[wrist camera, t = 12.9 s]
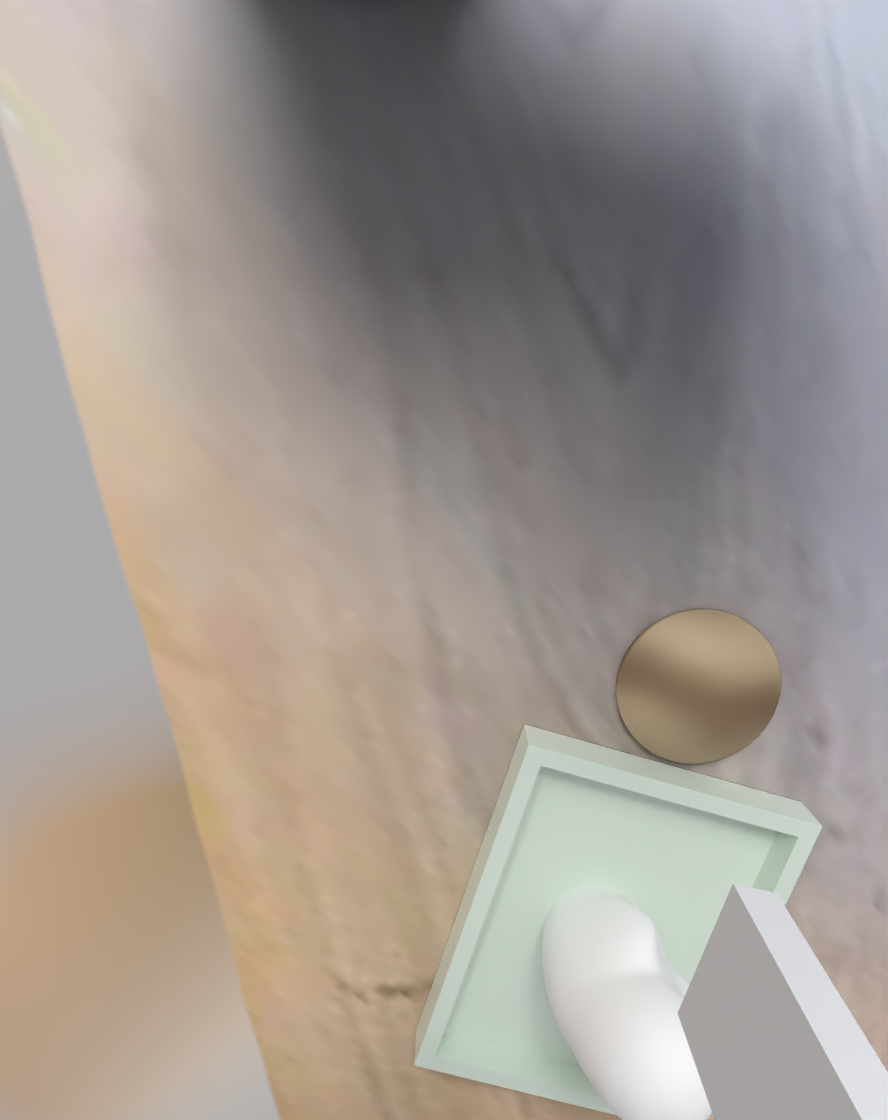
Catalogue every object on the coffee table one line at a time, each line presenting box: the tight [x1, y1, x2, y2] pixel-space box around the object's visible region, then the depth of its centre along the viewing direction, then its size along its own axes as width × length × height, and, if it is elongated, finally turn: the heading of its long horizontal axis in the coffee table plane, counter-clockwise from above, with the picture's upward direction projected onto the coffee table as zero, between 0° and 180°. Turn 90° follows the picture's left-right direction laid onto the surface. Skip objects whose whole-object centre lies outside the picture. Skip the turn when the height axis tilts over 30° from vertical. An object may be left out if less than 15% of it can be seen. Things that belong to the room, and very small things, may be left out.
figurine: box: [542, 888, 712, 1120], centre depth 37 cm, size 7×8×12 cm
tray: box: [414, 724, 823, 1115], centre depth 42 cm, size 22×17×2 cm
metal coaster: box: [616, 609, 781, 764], centre depth 40 cm, size 9×9×1 cm
